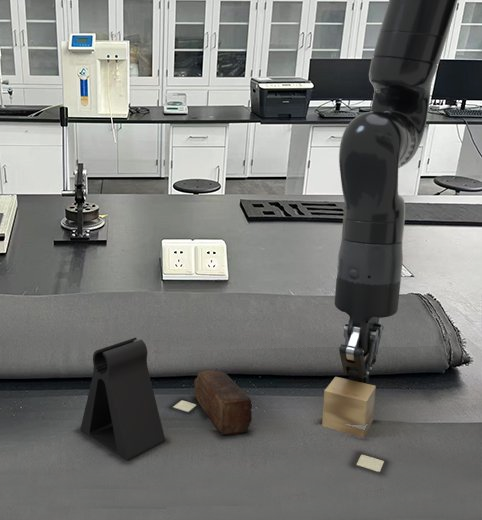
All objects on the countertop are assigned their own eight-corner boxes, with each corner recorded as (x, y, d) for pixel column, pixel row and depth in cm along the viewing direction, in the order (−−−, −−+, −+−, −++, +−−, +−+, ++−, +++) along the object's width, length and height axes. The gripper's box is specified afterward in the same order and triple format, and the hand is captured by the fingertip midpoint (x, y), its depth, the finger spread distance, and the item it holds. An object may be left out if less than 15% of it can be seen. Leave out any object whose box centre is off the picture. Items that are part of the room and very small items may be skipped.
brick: (252, 433, 65) (253, 398, 64) (221, 437, 65) (222, 402, 64) (219, 395, 76) (220, 365, 75) (193, 398, 75) (193, 367, 74)
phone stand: (80, 431, 66) (77, 340, 64) (117, 415, 70) (115, 329, 68) (127, 462, 60) (125, 362, 57) (165, 442, 64) (165, 348, 61)
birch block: (372, 421, 68) (376, 385, 67) (363, 439, 64) (367, 400, 63) (332, 411, 71) (335, 376, 70) (321, 427, 67) (324, 390, 66)
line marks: (384, 462, 59) (384, 461, 59) (379, 473, 57) (379, 471, 57) (181, 401, 74) (181, 400, 74) (172, 408, 72) (172, 406, 72)
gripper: (388, 290, 60) (375, 429, 64) (410, 268, 71) (397, 388, 74) (322, 281, 65) (312, 411, 68) (351, 261, 75) (342, 375, 79)
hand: (356, 399), depth 71 cm, fingers closed
